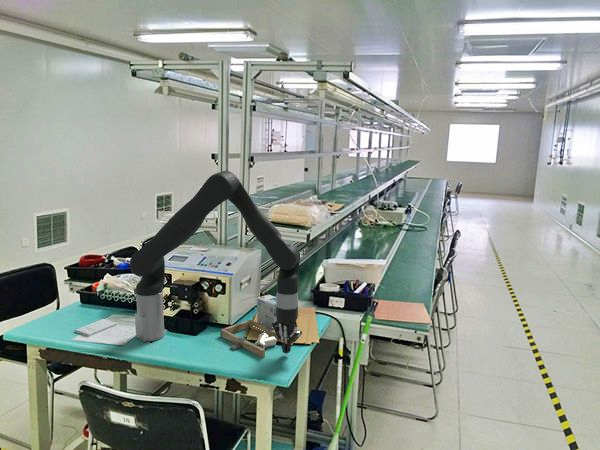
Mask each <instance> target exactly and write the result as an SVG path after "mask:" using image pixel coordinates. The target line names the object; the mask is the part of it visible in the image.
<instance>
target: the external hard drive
mask: <svg viewBox="0 0 600 450" xmlns="http://www.w3.org/2000/svg"><path fill="white" fill-rule="evenodd" d="M117 325H118V322H116V321H112V320H109V319H107V318H102V319H99V320H97V321H94V322H92V323H89V324H87V325H84V326H82V327H79V328H77V329H74V332H75V333H78V334H81V335H83V336H86V337H92V336H95V335H96V334H99V333H102V332H105V331H107V330H109V329H111V328H114V327H117Z"/></svg>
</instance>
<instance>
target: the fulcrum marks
mask: <svg viewBox="0 0 600 450" xmlns="http://www.w3.org/2000/svg"><path fill="white" fill-rule="evenodd" d="M266 329H268V330H270V331H271V330H273V329H272V328H270V327H266ZM279 333H280V331H279ZM238 339H240V340H242V341H244V340H246V338H245V337H244V338H243V337H242V336H238ZM246 341H247V340H246ZM229 348H230V349H231V350H232V351H237V350H239V349H243V347H242V345H241V344H239V343H237V344H235V343H234V344H232V345H230V346H229Z"/></svg>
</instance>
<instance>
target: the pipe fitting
mask: <svg viewBox="0 0 600 450" xmlns="http://www.w3.org/2000/svg"><path fill="white" fill-rule="evenodd" d="M277 341H278V340H277V339H276V338H275V337H273V336H272V337H270V336H268V335H267V334H266V333H260V334H259V333H258V339H257V341H255V343H254V345H256V346H258V347H260V348H262V349H264V350H265V349H266V348H270V347H273V346H276V345H277Z"/></svg>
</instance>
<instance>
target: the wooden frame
mask: <svg viewBox="0 0 600 450" xmlns="http://www.w3.org/2000/svg"><path fill="white" fill-rule="evenodd" d="M253 326H255V327H253ZM256 327H257V328H256ZM250 328H251V329H253V330H255V331H257V332H259V333H260V334H262V333H266V334H267V335H268V337H272V336H273V337H275V338H276V339H277V341H279V342H281V339H278V337H277V335H276V333H275V330H271V331H270V330H268V329H266V326H264V325H261V324H259V323H257V321H255V320H252V319H248V320H245V321H242V322H239V323H236V324H233V325H230V326H227V327H224V328H222V329H220V332H219V334H220V337H221V338H223V339H226V340H228V341H229V342H232V343H233V344H234V345H235V344H237V343H239V344H241V345H242V349H245V350H247V351H249V352H250V353H253V354H254V355H256V356H258V357H260V358H265V357H266V350H265V349H262V348H260V347H258V346H256V345H255V343H252V342H250V341H248V340H244V341H242V340H240V339H238V337H239V336H238V335H237V334H234V333H237V332H241V331H242V330H243V331H244V330H246V329H250ZM258 328H259V329H258ZM260 329H261V330H260ZM262 330H263V331H262ZM264 331H265V332H264ZM279 334H280V333H279ZM293 345H294V342H293V343H291V347H292V346H293Z"/></svg>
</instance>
